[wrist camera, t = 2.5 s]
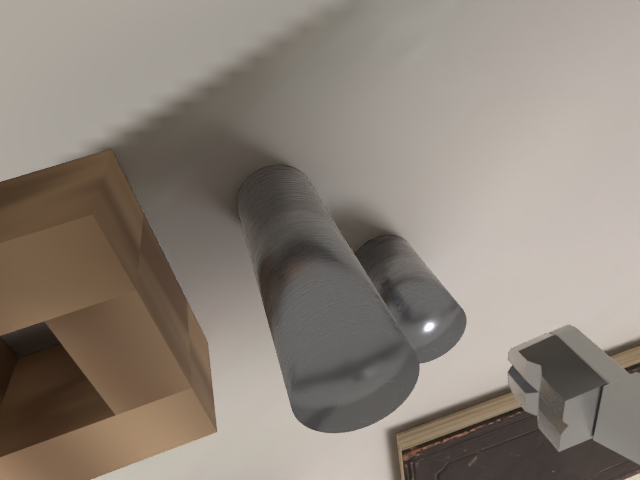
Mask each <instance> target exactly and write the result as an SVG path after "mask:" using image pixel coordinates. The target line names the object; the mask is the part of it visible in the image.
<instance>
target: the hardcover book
mask: <svg viewBox="0 0 640 480" xmlns="http://www.w3.org/2000/svg"><path fill="white" fill-rule="evenodd" d="M610 357H611V358H612V359H613V360H614V361H615V362H617V363H618V364H619V365H620V366H621V367H622V368H624V369H625V370H626V371H627V372H628V373H629V374H632V373H635V372H638V373H640V346H637V347H634V348H632V349H629V350H626V351H623V352H621V353H618V354H615V355H612V356H610ZM396 438H397V447H398V455H399V463H400V472H401V480H624V479H627V478H629V477H632V476H634V475H636V474H639V473H640V465H639V464H637V463H635V462H634V461H632V460H630V459H628V458H626V457H624V456H622V455H620V454H618V453H617V452H615V451H613V450H611V449H609V448H607V447H605V446H603V445H601V444H600V443H598V442H596V441H594V440H593V438H591V439H589V440H586V441H584V442H582V443H579V444H577V445H575V446H572V447H570V448H567V449H565V450H563V451H560V452H558V451H557V449H556V448H555V447H554V446H553V445H552V443H551V442H550V441H549V440H548V439H547V437H546V436H545V435H544V434H543V433H542V431H541V430H540V429H539V428H538V418H537V416H535V415H533V414H531V413H528V412H526V411H524V409H523V408H522V407H521V406H520V404H519V403H518V402H517V400H516V399H515V397H514V395H513V394H512V392H511V393H508V394H505V395H502V396H500V397H497V398H494V399H491V400H489V401H486V402H483V403H480V404H478V405H475V406H472V407H469V408H467V409H464V410H461V411H458V412H456V413H453V414H450V415H447V416H445V417H442V418H439V419H436V420H434V421H431V422H428V423H425V424H423V425H420V426H417V427H414V428H412V429H409V430H406V431H403V432H401V433H398V434H396Z"/></svg>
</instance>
